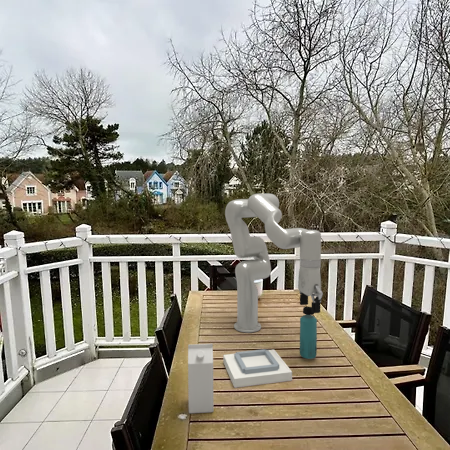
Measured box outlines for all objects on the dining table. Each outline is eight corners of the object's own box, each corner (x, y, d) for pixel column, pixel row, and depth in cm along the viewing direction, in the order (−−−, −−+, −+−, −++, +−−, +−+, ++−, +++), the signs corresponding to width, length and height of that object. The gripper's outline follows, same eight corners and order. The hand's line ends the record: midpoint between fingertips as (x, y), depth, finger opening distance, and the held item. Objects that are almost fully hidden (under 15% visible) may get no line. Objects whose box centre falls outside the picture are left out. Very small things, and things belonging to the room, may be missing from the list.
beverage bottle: (317, 363, 128) (318, 311, 126) (298, 361, 129) (299, 309, 128) (316, 355, 134) (317, 305, 133) (298, 353, 136) (299, 304, 134)
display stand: (223, 362, 129) (223, 350, 129) (274, 357, 133) (274, 345, 133) (234, 387, 112) (234, 374, 112) (292, 380, 117) (292, 367, 116)
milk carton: (189, 399, 106) (188, 339, 105) (212, 398, 107) (211, 338, 105) (188, 414, 99) (187, 350, 97) (213, 412, 100) (213, 349, 98)
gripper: (291, 259, 136) (291, 302, 137) (311, 268, 119) (311, 317, 121) (308, 258, 138) (308, 301, 139) (331, 267, 121) (330, 315, 122)
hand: (309, 308), depth 130 cm, fingers open, 9 cm apart
